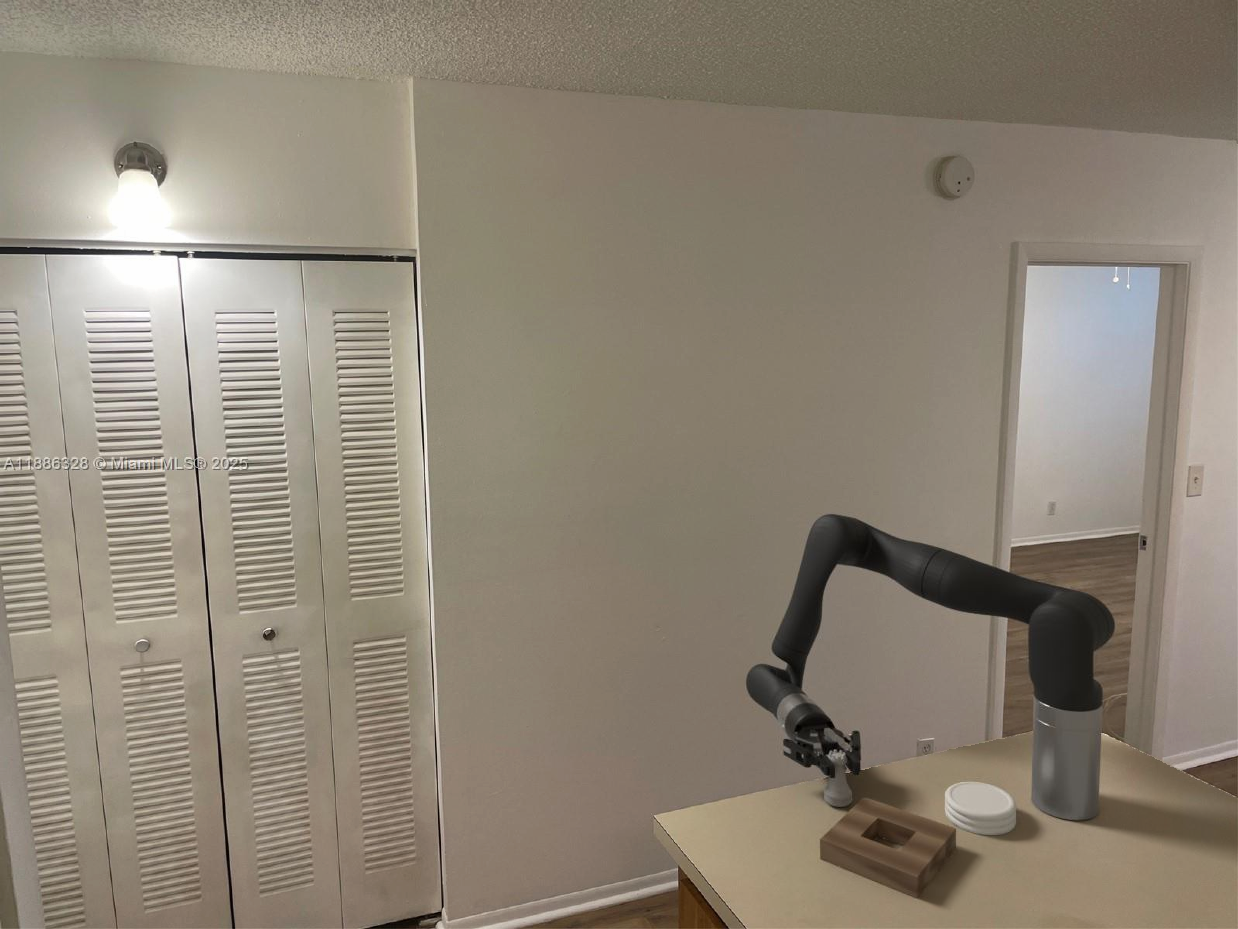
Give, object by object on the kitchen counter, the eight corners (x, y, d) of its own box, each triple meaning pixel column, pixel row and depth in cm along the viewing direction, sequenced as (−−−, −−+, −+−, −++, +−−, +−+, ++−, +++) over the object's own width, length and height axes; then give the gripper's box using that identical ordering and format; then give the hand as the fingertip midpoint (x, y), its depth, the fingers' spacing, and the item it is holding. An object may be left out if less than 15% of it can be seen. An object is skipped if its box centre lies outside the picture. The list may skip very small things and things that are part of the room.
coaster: (1009, 804, 131) (1009, 783, 131) (1022, 841, 122) (1022, 818, 121) (941, 798, 134) (941, 777, 133) (948, 833, 124) (948, 811, 124)
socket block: (864, 815, 129) (863, 797, 129) (955, 847, 120) (956, 828, 120) (820, 858, 119) (819, 839, 119) (917, 898, 110) (917, 877, 109)
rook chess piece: (853, 809, 131) (852, 761, 130) (824, 807, 132) (823, 759, 131) (851, 794, 135) (850, 747, 134) (823, 792, 136) (822, 746, 135)
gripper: (765, 706, 145) (801, 753, 128) (842, 697, 147) (888, 743, 130) (766, 747, 146) (802, 799, 129) (843, 738, 148) (888, 788, 131)
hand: (845, 771), depth 130 cm, fingers closed on rook chess piece, 3 cm apart
